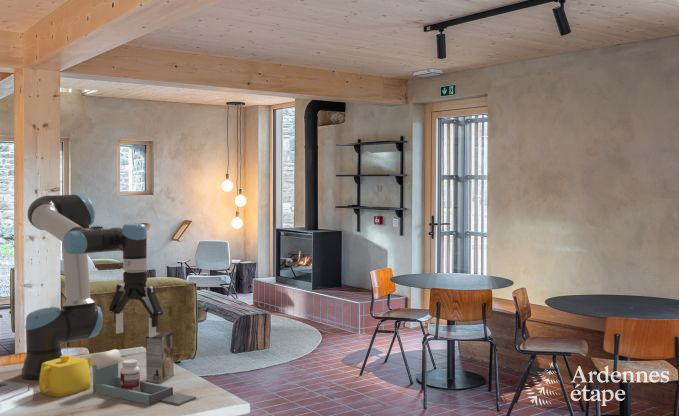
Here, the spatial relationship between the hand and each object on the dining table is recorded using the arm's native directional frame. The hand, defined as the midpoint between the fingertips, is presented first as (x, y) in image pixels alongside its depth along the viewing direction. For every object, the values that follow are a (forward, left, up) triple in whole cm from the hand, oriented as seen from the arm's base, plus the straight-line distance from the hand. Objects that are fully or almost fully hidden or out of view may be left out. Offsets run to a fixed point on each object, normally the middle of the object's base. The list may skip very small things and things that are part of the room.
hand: (135, 334), depth 242 cm
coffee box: (-5, +16, -20) cm, 26 cm away
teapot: (-23, -9, -20) cm, 31 cm away
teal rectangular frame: (0, -2, -19) cm, 20 cm away
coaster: (+17, +1, -19) cm, 26 cm away
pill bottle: (-1, -2, -20) cm, 20 cm away
